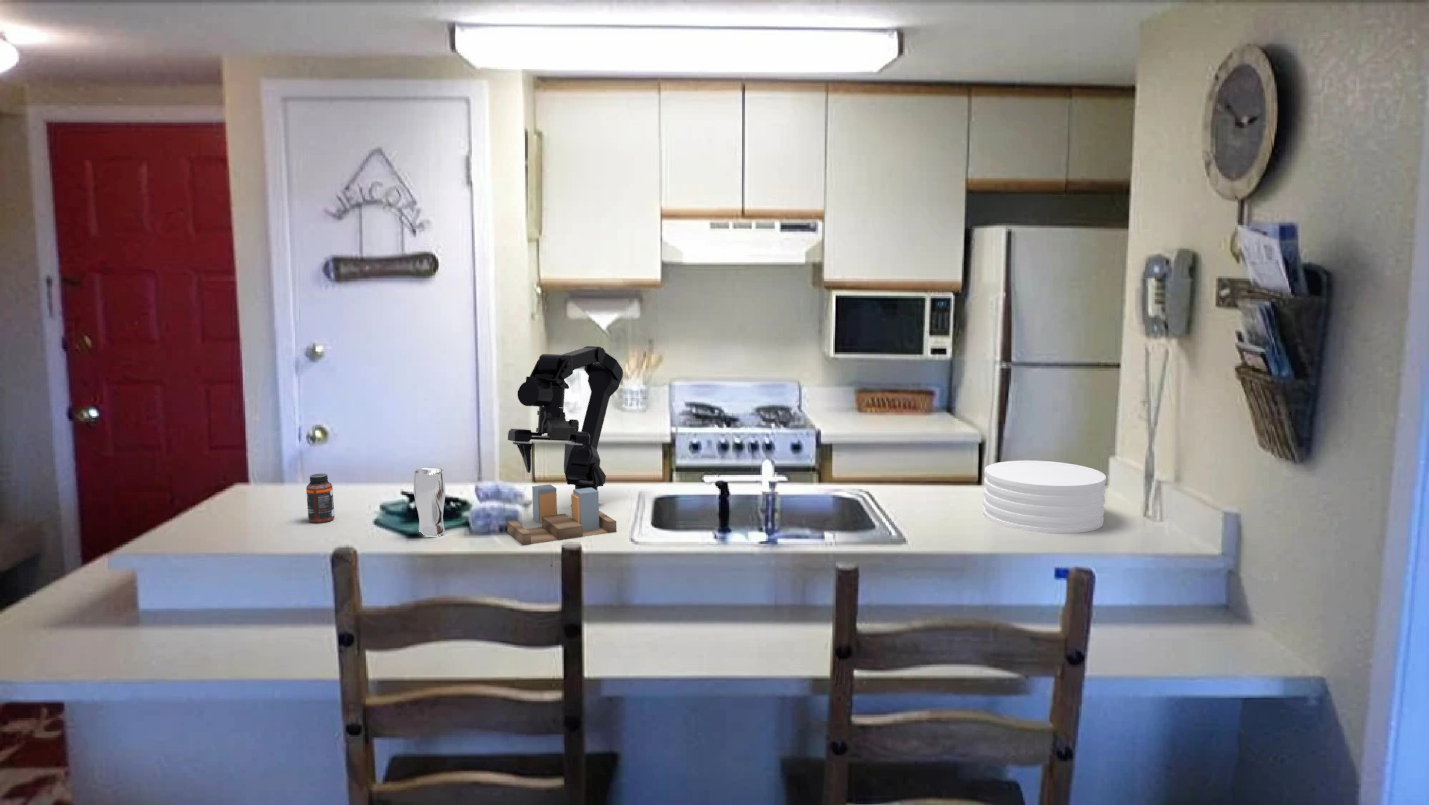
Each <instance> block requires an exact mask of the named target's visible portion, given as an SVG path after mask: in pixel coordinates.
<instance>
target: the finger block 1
mask: <svg viewBox="0 0 1429 805" xmlns="http://www.w3.org/2000/svg"><path fill="white" fill-rule="evenodd" d="M531 487H532V489H531V491H532V494H531V495H532V518H533V520H534V521H536V522H537V523H538V524H541V525H542V517H543V516H550V515H558V508H557V507H558V505H557V504H558V503H557V500H558V498H557V496H558V495H557V487H555V486H553V485H552V484H551V483H549V484H540V485H532V486H531Z"/></svg>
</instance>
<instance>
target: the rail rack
mask: <svg viewBox="0 0 1429 805" xmlns="http://www.w3.org/2000/svg"><path fill="white" fill-rule="evenodd" d="M506 523H507V524H506V526H507V533H508V534H509V535H510V536H511V537H513V538H514V539H515V540H516V541H517V542H519V543H520V544H521V545H522V546H529V545H535V544H542V543H543V544H544V543H549V542H555V541H556V542H557V541H563V540H569V539H576V538H584V537H591V536H597V535H599V536H600V535H605V534H611V533H617V520H615V519H613V518H612V517H610V516H609V515H607V514H605V513H604V512H602V511H601V510H599V529H598V530H591V531H584V532H583V526H582V525H580V524H579V523H578V522H576V521H575V520H573V519H572V517H570V516H569V515H567V514H566V513H559V514H558V513H557V515H550V516H543V517H542V524H541V527H532V528H525V527H524V526H523V525H522V524H520V523H519V522H518V521H517V520H507V521H506Z"/></svg>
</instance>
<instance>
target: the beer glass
mask: <svg viewBox="0 0 1429 805" xmlns="http://www.w3.org/2000/svg"><path fill="white" fill-rule="evenodd" d="M413 496H414V500H415V501H414V502H415V505H416V509H417V514H418V519H419V520H418V521H419V522H418V524H419V525H418V530H419V532H421V533H422V534H423V535H425V536H437V535H438V537H440V536H439V535H442V536H444V535H445V534H446V530H445V525H444V517H443V516H444V508H445V500H446V481H445V473H444V469H443V468H441V467H425V468H419V469H415V470H414V471H413ZM443 534H444V535H443Z"/></svg>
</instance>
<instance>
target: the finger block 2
mask: <svg viewBox="0 0 1429 805" xmlns="http://www.w3.org/2000/svg"><path fill="white" fill-rule="evenodd" d="M599 496H600V495H599V490H598V491H597V490H595V489H593V488H582V489H575V488H574V489H572V494H570V499H571V504H570V508H571V518H572V519H573V520H575V521H576V522H578V523H579V524H580V525H582V526H583V532H584V531H591V530H598V529H599V511H600V510H599V509H600V506H599V505H600V504H599Z"/></svg>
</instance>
